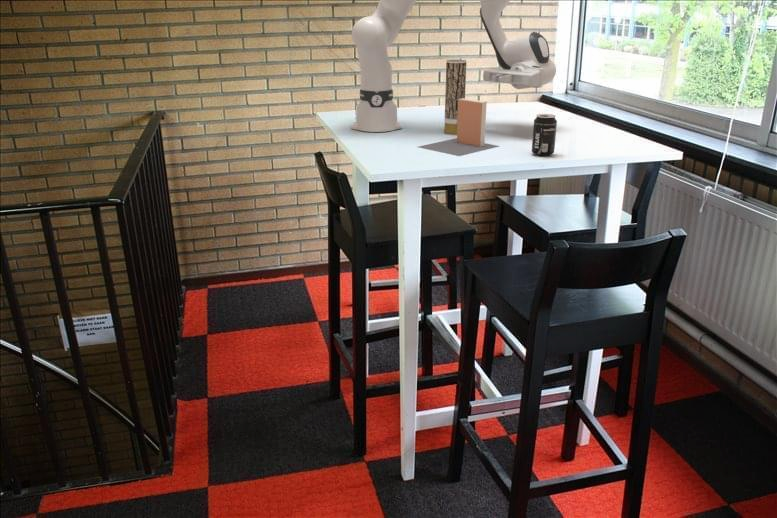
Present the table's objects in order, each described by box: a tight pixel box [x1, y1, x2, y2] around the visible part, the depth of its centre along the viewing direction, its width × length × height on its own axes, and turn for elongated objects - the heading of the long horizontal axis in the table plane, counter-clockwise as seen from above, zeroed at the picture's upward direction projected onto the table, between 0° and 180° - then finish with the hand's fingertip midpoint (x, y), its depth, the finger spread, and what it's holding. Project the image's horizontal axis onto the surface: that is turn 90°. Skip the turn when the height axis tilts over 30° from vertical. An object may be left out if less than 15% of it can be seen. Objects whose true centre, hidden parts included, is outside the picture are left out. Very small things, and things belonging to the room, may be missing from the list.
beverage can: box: [531, 113, 558, 157], centre depth 201 cm, size 7×7×12 cm
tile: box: [456, 98, 487, 147], centre depth 214 cm, size 2×10×14 cm, turn 44°
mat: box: [417, 137, 500, 157], centre depth 213 cm, size 20×18×1 cm
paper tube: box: [443, 59, 467, 136], centre depth 228 cm, size 7×7×25 cm
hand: (496, 79), depth 217 cm, fingers closed
